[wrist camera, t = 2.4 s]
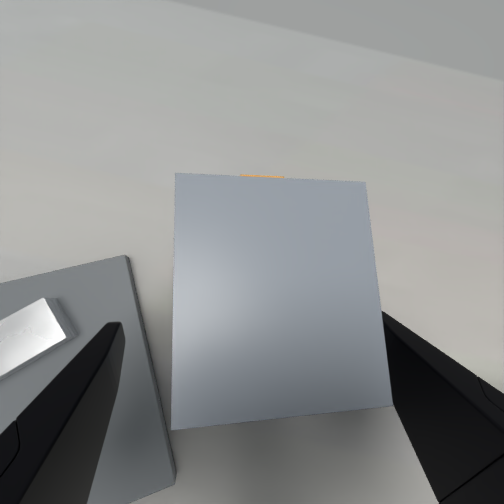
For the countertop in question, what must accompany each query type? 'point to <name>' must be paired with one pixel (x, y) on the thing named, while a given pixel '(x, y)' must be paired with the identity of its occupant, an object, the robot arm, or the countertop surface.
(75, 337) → the grey mounting plate
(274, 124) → the countertop surface
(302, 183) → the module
